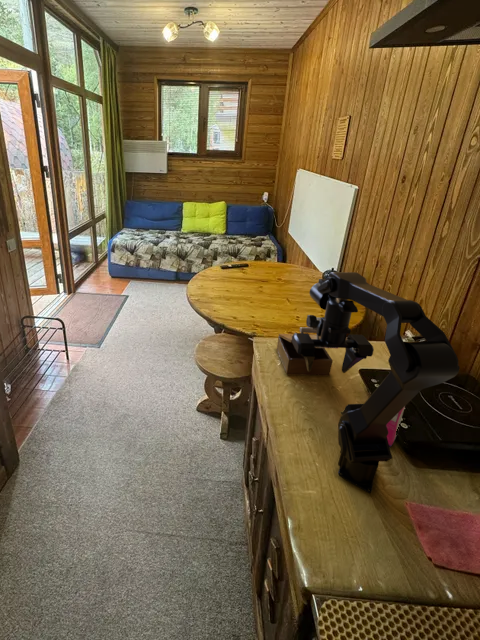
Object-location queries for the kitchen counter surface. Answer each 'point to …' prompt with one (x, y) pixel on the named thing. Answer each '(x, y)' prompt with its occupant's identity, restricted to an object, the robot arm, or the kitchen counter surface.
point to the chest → (302, 360)
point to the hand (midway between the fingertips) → (325, 371)
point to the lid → (302, 330)
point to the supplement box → (393, 427)
